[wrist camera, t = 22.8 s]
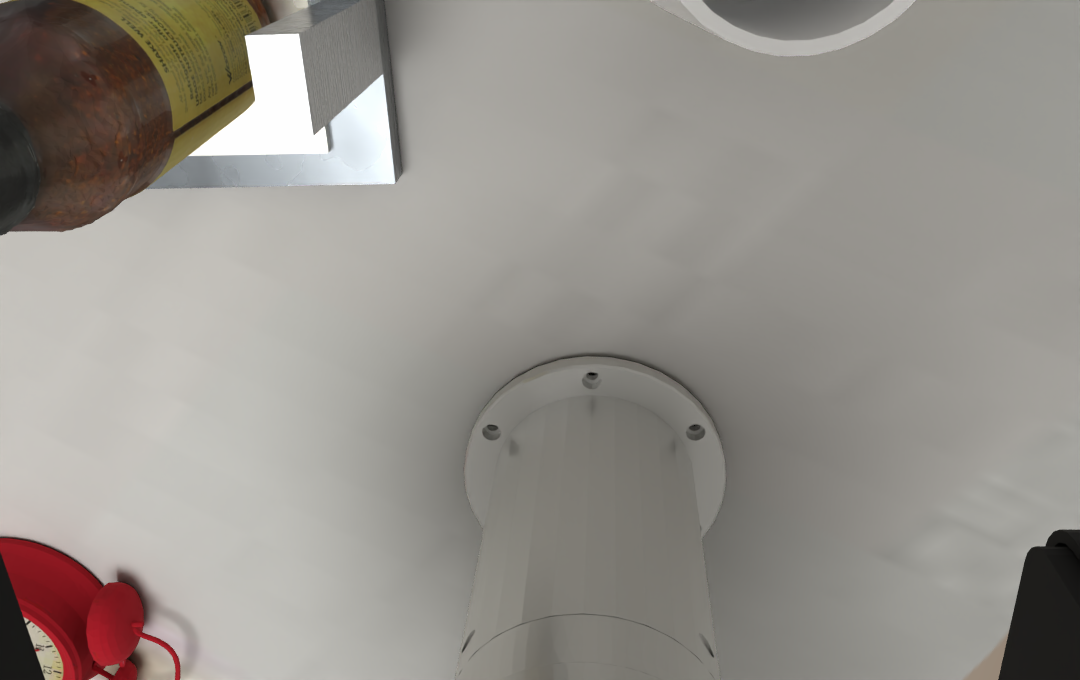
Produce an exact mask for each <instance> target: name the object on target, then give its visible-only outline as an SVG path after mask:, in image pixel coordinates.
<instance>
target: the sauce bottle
mask: <svg viewBox="0 0 1080 680" xmlns="http://www.w3.org/2000/svg"><path fill="white" fill-rule="evenodd" d="M269 24H270V21H269V18H268V16H267V12H266V10H265V7H264V6H263V4H262V2H261V0H11V1H8V2H4V3H1V4H0V235H3V234H6V233H7V232H8V231H58V232H63V231H66V230H73V229H75V228H79V227H82V226H84V225H87V224H91V223H93V222H94V221H95V220H97V219H99V218H101V217H102V216H104V215H105V214H107V213H109V212H111V211H112V210H113V209H114V208H115V207H117V206H118V205H119V204H120V203H121V202H122V201H123V200H125V199H127V198H129V197H132V196H134V195H136V194H138V193H140V192H141V191H143V190H144V189H146V188H147V187H149V186H150V185H151V184H152V183H154V182H155V181H156V180H158V179H159V178H160V177H161V176H163V175H164V174H165V173H167V172H168V171H169V170H170V169H172V168H173V167H174V166H176V165H177V164H178V163H179V162H181V161H182V160H183V159H185V158H186V157H187V156H188V155H190V154H191V153H192V152H194V151H195V150H196V149H197V148H199V147H200V146H201V145H203V144H204V143H205V142H206V141H208V140H209V139H210V138H212V137H213V136H214V135H216V134H217V133H218V132H219V131H221V130H222V129H223V128H225V127H226V126H227V125H229V124H230V123H231V122H232V121H234V120H235V119H236V118H238V117H239V116H240V115H241V114H243V113H244V112H245V111H246V110H247V109H248V108H249V107H250V106H251V105H252V104H253V103H254V101H255V100H256V99H255V93H254V87H253V81H252V75H251V69H250V63H249V57H248V51H247V45H246V39H245V35H248V34H250V33H252V32H254V31H256V30H259V29H261V28H263V27H265V26H267V25H269Z"/></svg>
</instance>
